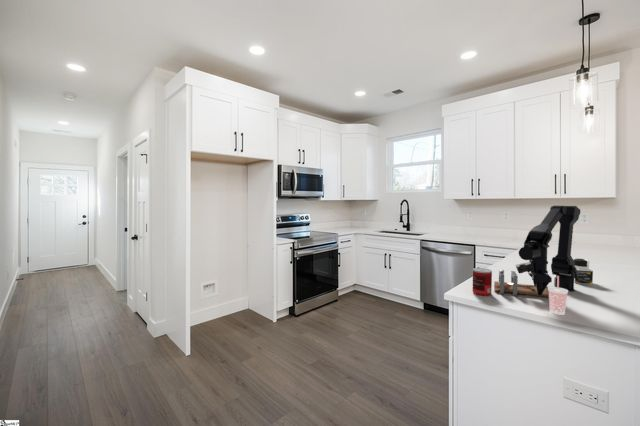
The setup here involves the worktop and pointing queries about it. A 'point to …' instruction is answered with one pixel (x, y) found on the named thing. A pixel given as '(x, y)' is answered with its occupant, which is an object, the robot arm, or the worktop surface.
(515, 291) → the collar
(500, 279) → the collar
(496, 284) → the brown wooden rod
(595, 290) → the worktop surface
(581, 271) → the medicine bottle
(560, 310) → the beverage cup
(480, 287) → the canned food
